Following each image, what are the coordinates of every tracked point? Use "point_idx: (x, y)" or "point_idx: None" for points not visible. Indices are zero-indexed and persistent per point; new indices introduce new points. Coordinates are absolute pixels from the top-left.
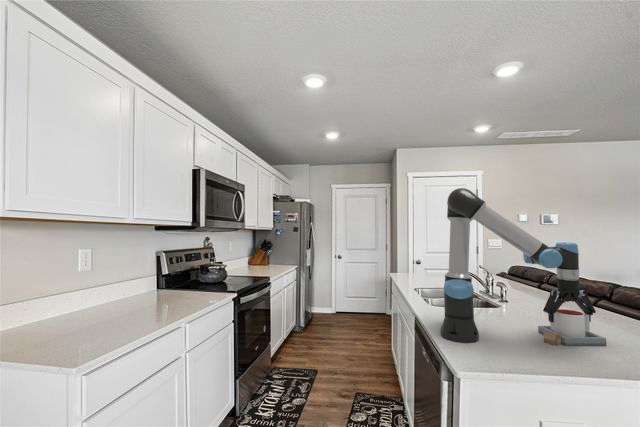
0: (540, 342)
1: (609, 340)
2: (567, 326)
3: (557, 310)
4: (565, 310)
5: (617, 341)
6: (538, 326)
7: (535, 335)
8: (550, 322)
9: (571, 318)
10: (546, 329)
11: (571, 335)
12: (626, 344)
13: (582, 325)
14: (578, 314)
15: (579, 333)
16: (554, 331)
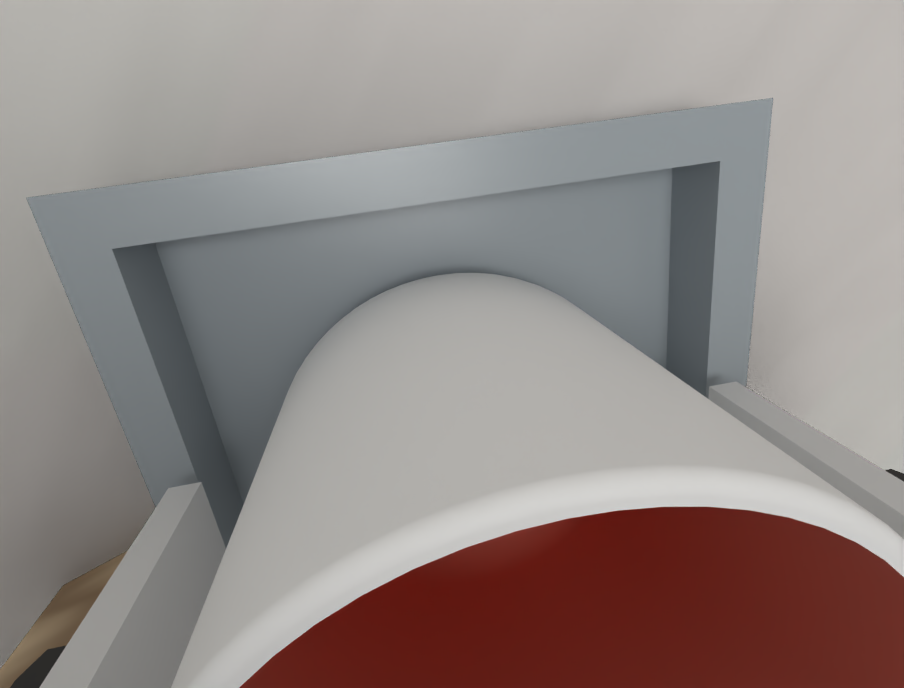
0: (16, 601)
1: (850, 382)
2: None
3: (369, 559)
4: (725, 479)
5: (899, 399)
6: (40, 210)
7: (16, 349)
8: (113, 579)
9: None
10: (126, 428)
11: (398, 593)
12: (895, 469)
13: None
14: (860, 608)
15: (494, 624)
16: (349, 229)
